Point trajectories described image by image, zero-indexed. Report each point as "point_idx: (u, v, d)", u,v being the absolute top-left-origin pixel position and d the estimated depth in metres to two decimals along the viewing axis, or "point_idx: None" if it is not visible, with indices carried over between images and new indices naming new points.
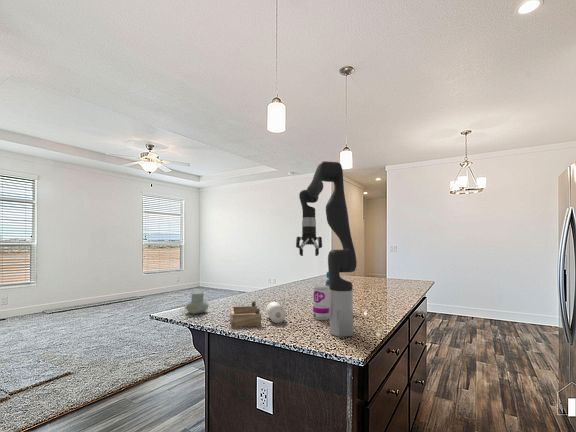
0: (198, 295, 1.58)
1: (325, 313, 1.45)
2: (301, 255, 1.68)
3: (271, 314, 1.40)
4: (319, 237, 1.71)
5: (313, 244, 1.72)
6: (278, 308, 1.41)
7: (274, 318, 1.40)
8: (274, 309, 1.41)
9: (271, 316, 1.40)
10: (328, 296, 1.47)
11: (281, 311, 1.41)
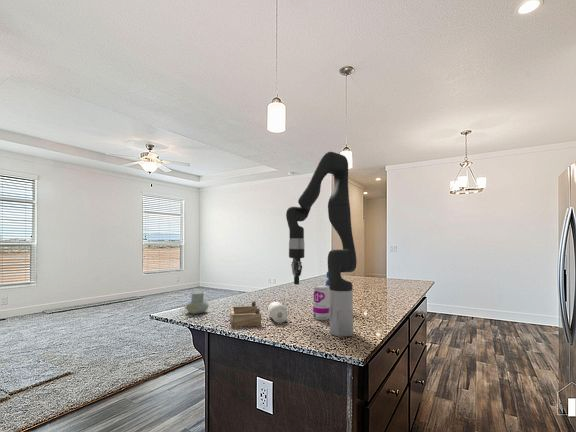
0: (198, 295, 1.58)
1: (325, 313, 1.45)
2: (298, 283, 1.49)
3: (273, 312, 1.41)
4: None
5: (294, 269, 1.51)
6: (281, 308, 1.41)
7: (275, 317, 1.41)
8: (277, 308, 1.41)
9: (273, 314, 1.40)
10: (328, 296, 1.47)
11: (284, 312, 1.42)
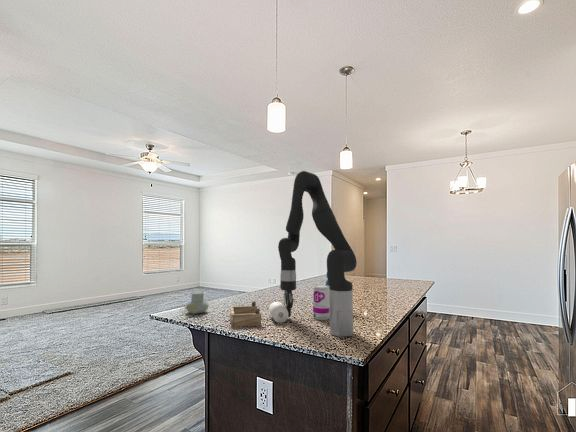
0: (198, 295, 1.58)
1: (325, 313, 1.45)
2: (289, 316, 1.47)
3: (275, 311, 1.41)
4: None
5: (286, 301, 1.49)
6: (283, 308, 1.42)
7: (276, 316, 1.41)
8: (279, 308, 1.41)
9: (274, 313, 1.41)
10: (328, 296, 1.47)
11: (285, 312, 1.42)
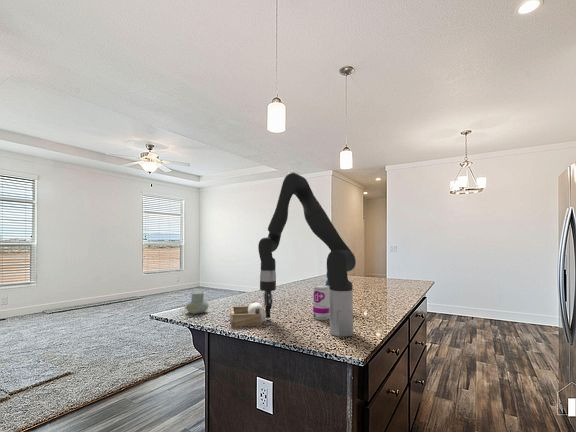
0: (198, 295, 1.58)
1: (325, 313, 1.45)
2: (269, 317, 1.45)
3: (263, 320, 1.39)
4: None
5: None
6: None
7: (262, 314, 1.39)
8: None
9: (264, 318, 1.39)
10: (328, 296, 1.47)
11: None
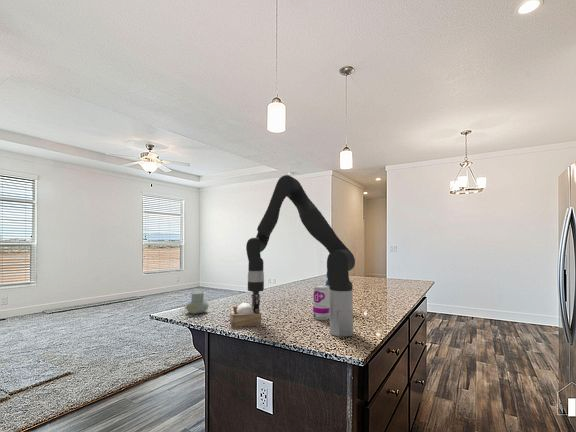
0: (198, 295, 1.58)
1: (325, 313, 1.45)
2: None
3: (251, 311, 1.39)
4: None
5: (253, 302, 1.45)
6: None
7: (246, 311, 1.38)
8: None
9: (249, 310, 1.38)
10: (328, 296, 1.47)
11: None
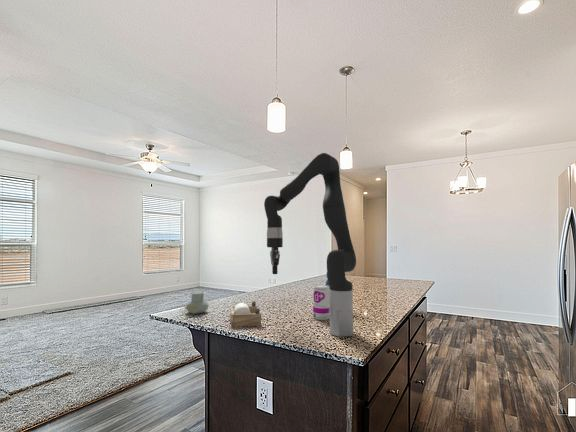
0: (198, 295, 1.58)
1: (325, 313, 1.45)
2: (276, 273, 1.47)
3: (246, 310, 1.38)
4: None
5: None
6: None
7: (241, 312, 1.38)
8: None
9: (244, 309, 1.38)
10: (328, 296, 1.47)
11: None
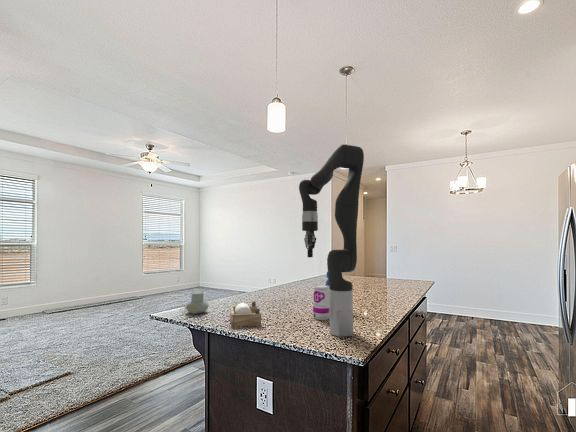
0: (198, 295, 1.58)
1: (325, 313, 1.45)
2: (311, 256, 1.49)
3: (247, 310, 1.38)
4: None
5: None
6: None
7: (242, 311, 1.38)
8: None
9: (246, 309, 1.38)
10: (328, 296, 1.47)
11: None
